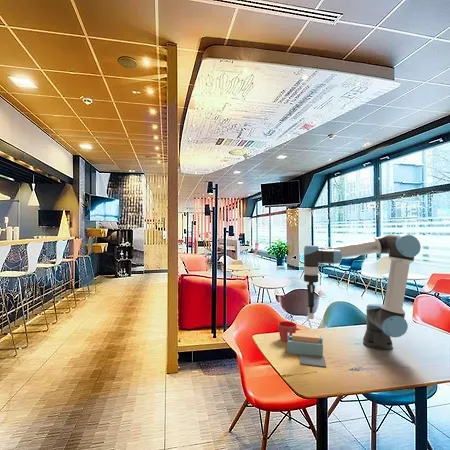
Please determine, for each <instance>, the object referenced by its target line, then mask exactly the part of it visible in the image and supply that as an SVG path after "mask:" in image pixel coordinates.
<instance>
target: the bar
mask: <svg viewBox="0 0 450 450" xmlns="http://www.w3.org/2000/svg"><path fill="white" fill-rule="evenodd" d="M319 339H320V335H315V334H307V333H306V334H305V333H292V340H293V341H303V342H313V343H319Z"/></svg>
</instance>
